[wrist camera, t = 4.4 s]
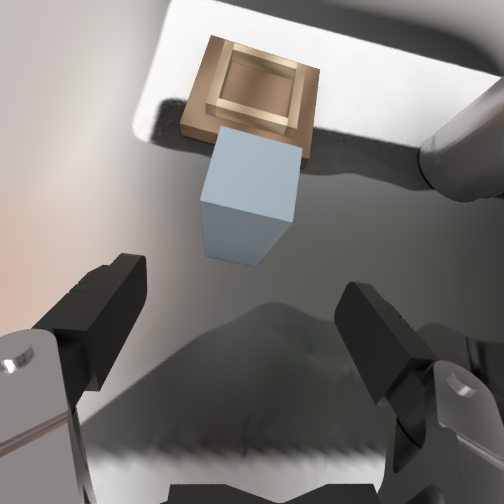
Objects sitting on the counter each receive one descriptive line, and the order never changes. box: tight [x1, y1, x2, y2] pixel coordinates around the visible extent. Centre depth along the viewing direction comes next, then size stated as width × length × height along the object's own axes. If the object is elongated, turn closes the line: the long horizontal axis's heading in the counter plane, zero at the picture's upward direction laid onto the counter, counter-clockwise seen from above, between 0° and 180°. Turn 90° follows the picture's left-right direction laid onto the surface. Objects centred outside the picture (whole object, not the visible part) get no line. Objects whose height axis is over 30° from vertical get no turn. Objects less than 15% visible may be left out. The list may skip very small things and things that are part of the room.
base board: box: [180, 35, 320, 168], centre depth 25 cm, size 13×13×3 cm
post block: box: [200, 126, 303, 267], centre depth 17 cm, size 5×5×10 cm
